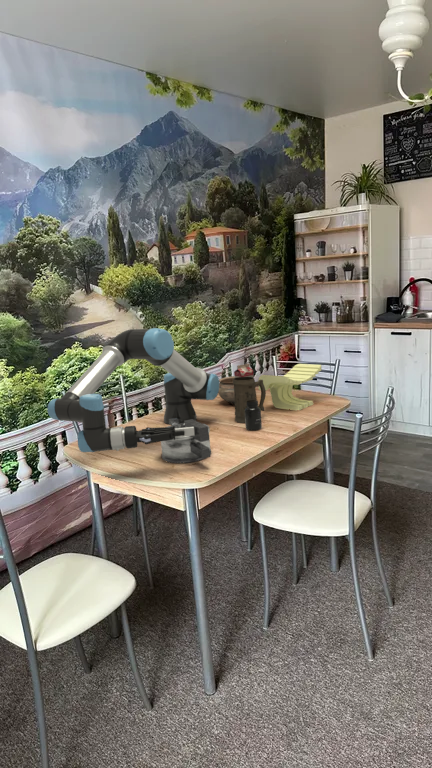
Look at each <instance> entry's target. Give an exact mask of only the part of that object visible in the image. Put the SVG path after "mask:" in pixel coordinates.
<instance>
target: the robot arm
mask: <svg viewBox="0 0 432 768" xmlns="http://www.w3.org/2000/svg"><path fill="white" fill-rule="evenodd" d="M174 342H175V341H174V340H173V337H172V335H171V334H170V332H169V331H168V330H166V329H163V328H157V327H154V328H139V329H137V328H136V329H135V328H131V329H126V330H125V331H122V332H121V333H119V334H117V335H116V336H114V337H113V338H112V339H111V340H110V341H109V342H108V343H107V344H105V345H104V347H103V348H102V350H101V351H102V352H101V353H100V355H99V356H98V357H97V358H96V360H94V361H93V363H92V364H91V365H90V366H89V367H88V368H87V370H86V371H84V372H83V373H82V375H81V376H80V377H79V378H78V379H77V380H76V381H75V382H74V383H73V385H72V386H71V387H70V388H69V389H68V390H67V391H66V392H65V393H64V395H62V396H61V398H59V397H58V398H53V399H51V400H50V401H49V402H48V404H47V408H46V409H47V414H48V416H49V417H50V418H51V419H52V420H55V421H60V422H63V421H64V422H77V423H82V429H81V430H79V431H78V432H77V436H76V437H77V447H78V450H79V451H80V452H81V453H97V452H105V451H117V452H118V451H120V450H123V449H125V448H126V449H135V448H136V449H137V447H138V443H142V444H144V445H151V444H153V443H159V442H160V443H161V441H166V440H172V439H173V438H174V440H175V437H184V436H194V427H186V428H175V427H174V426H173V427H168V426H165V427H162V426H161V427H151V426H150V427H149V426H147V427H145V428H142V429H139V430H137V427H136V426H135V425H128V426H127V425H126V426H125V427H123V426H117V427H107V425H106V417H105V415H106V414H105V406H104V402H103V397H102V395H101V394H99V393H96V392H97V391H98V389H99V388H100V387H101V385H103V384H104V382H105V381H106V380H107V379H108V378H109V377H110V375H112V374H113V372H114V371H115V370H116V368H117V367H121V366H122V365H124V363H125V362H127V361H130V360H146V361H147V362H149V363H150V364H151V365H152V366H156V367H161V368H163V369H164V370H165V371H166V372H167V373H165V374H164V376H163V387H164V396H165V404H166V405H165V411H164V415H163V422H164V423H165V424H167V425H170V424H169V419H172V418H177V419H179V424H181V423H185V422H184V421H185V420H190V419H193V420H195V421H197V418H198V417H197V413H196V411H195V408H194V406H193V404H192V400H200V401H202V400H203V401H213V400H215V399H216V398H217V397H218V395H219V394H218V392H219V383H220V382H219V377H218V375H217V374H215V373H207V372H206V371H205V370H204V369H203V368H201V367H195V366H194V365H193V364H192V363H191V362H189V361H188V360H187V358H185V357H184V356H183V355H181V354H180V352H178V351H177V350H175V349H174V348H175V343H174Z"/></svg>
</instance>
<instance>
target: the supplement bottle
mask: <svg viewBox="0 0 432 768" xmlns="http://www.w3.org/2000/svg"><path fill="white" fill-rule="evenodd" d="M246 405H247V407H246V408H245V423H244V426H245V430H247V431H250V432H251V431H253V432H254V431H259V430H261V429H262V411H261V409H260V407H258V406H259V401H258V399H257V400H249V401H247V404H246Z"/></svg>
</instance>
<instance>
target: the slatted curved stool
mask: <svg viewBox="0 0 432 768" xmlns="http://www.w3.org/2000/svg"><path fill="white" fill-rule="evenodd" d="M321 371H322V364H313V363H312V364H309V363H297V364H295V365H293V367H292V368H291V369H290V370H289V371H288V372H286V374H284V375H272V374H271V375H269V374H261V375H260V376H259V377H258V380H257V381H259V380H263V384H264V387H265V390H266V391H268V390H269V392H270V395H271V396H270V397H271V402H272V406H274V408H276V409H280V410H281V409H282V410H289V409H290V410H291V411H297V410H299V411H301V410H303V409H306V408H308V407H311V406H313V405H314V402H313V400H307V399H301V398H298V397H296V396H295V395H293V393H292V391H293V388H294V387H293V386H299V385H301V384H304V383H307V382H309V381H313V378H316V375H319V374H320V372H321ZM258 391H261V388H260V386H258Z"/></svg>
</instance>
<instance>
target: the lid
mask: <svg viewBox="0 0 432 768" xmlns="http://www.w3.org/2000/svg"><path fill="white" fill-rule="evenodd" d="M184 422H185V423H181V424H179V419H177V418H172V419H169V424H168V425H167V427H173V426H174V427H175V428H186V427H194V436H184V437H175V440H174V438H173V439H172V440H167V441H187V440H193V439H196V440H198V441H200V442H203V441H208V440H209V438H210V433H211V432H210V431H211V429H210V425H207V424H205V423H202V422H200V421H198V420H193V419H190V420H185V421H184Z"/></svg>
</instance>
